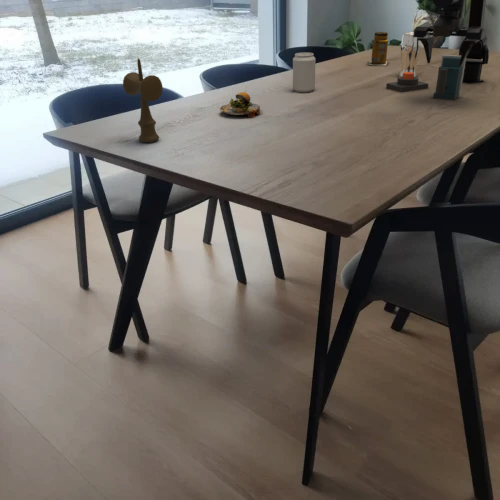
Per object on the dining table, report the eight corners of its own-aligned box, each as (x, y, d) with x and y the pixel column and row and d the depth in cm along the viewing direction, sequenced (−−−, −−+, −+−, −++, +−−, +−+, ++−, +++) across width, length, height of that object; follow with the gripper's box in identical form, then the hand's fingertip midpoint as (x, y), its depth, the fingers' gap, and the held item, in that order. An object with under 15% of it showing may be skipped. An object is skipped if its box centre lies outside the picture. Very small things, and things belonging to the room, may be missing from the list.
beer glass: (415, 74, 193) (420, 31, 186) (419, 78, 187) (424, 34, 180) (396, 75, 194) (401, 32, 186) (399, 79, 188) (404, 34, 180)
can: (288, 90, 178) (288, 53, 172) (307, 87, 181) (307, 50, 175) (300, 94, 172) (300, 56, 166) (319, 91, 175) (320, 53, 169)
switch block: (411, 84, 179) (412, 74, 177) (427, 88, 173) (429, 77, 171) (385, 88, 175) (386, 77, 173) (401, 92, 169) (402, 81, 167)
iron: (442, 54, 159) (431, 60, 151) (466, 56, 155) (456, 61, 147) (437, 94, 164) (426, 101, 157) (460, 96, 161) (449, 104, 153)
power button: (408, 77, 174) (409, 71, 173) (415, 79, 172) (416, 73, 171) (399, 78, 173) (400, 72, 172) (407, 80, 170) (407, 74, 169)
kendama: (149, 147, 127) (138, 62, 118) (129, 139, 134) (117, 58, 124) (169, 141, 131) (160, 58, 121) (148, 134, 137) (138, 54, 127)
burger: (215, 111, 156) (213, 85, 152) (251, 106, 160) (250, 81, 156) (228, 120, 146) (226, 94, 143) (266, 115, 150) (266, 89, 146)
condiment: (387, 62, 218) (390, 31, 212) (386, 65, 211) (389, 34, 205) (369, 61, 220) (372, 31, 214) (368, 65, 213) (370, 34, 207)
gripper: (409, 7, 142) (403, 66, 150) (481, 8, 132) (470, 71, 140) (423, 4, 150) (416, 60, 157) (491, 4, 140) (480, 64, 148)
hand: (444, 64), depth 151 cm, fingers open, 9 cm apart
